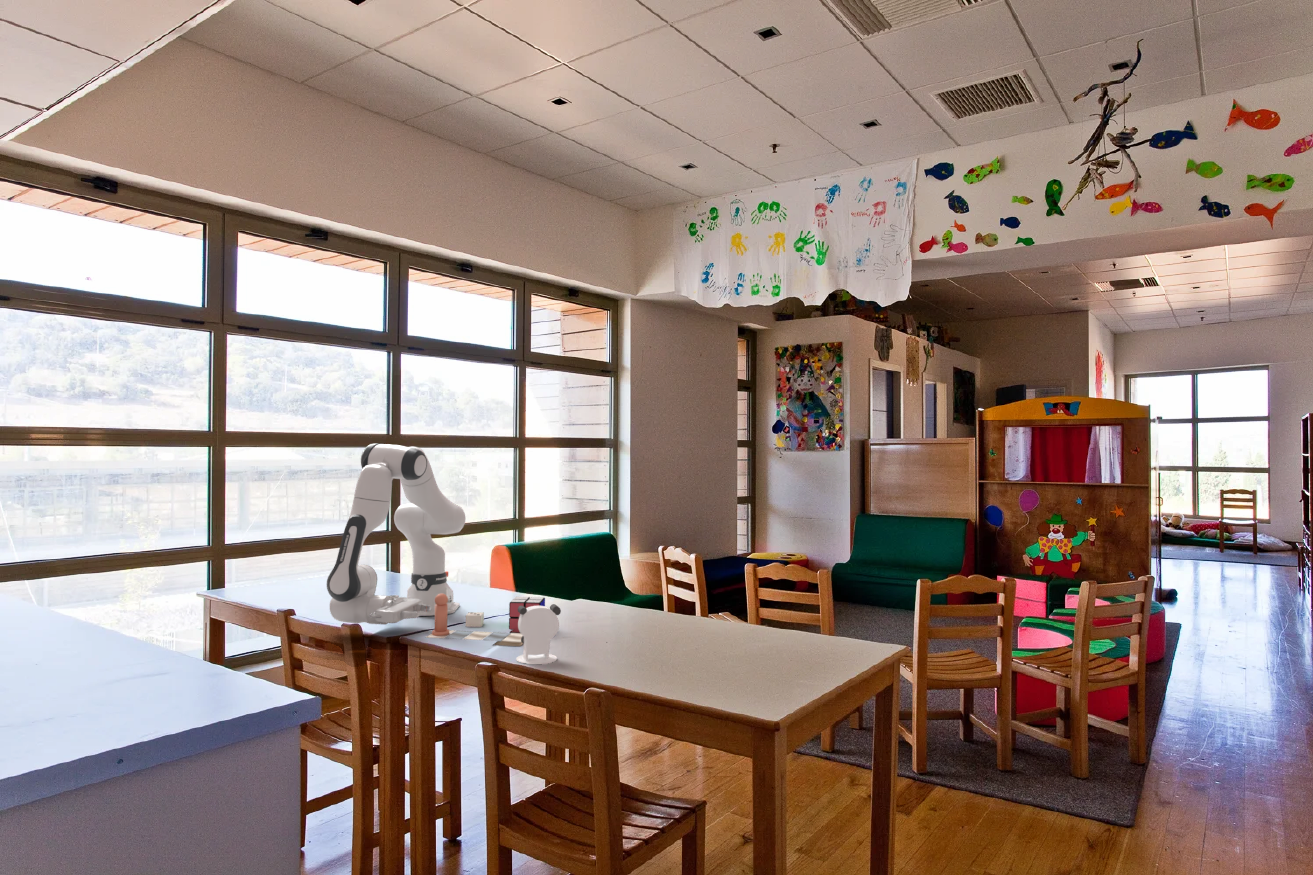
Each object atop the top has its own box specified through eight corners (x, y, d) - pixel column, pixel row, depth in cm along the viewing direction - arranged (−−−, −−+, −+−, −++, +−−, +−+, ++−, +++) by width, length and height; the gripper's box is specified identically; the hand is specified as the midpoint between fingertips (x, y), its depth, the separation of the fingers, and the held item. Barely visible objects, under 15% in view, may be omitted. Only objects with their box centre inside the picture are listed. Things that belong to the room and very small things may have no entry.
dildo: (435, 631, 252) (436, 591, 253) (451, 632, 252) (452, 592, 252) (429, 635, 247) (430, 594, 247) (445, 636, 247) (446, 595, 247)
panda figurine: (553, 652, 234) (554, 601, 234) (563, 662, 223) (564, 608, 224) (512, 655, 230) (513, 603, 230) (520, 666, 219) (521, 611, 219)
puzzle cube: (539, 633, 258) (540, 602, 258) (508, 633, 258) (509, 601, 258) (544, 626, 268) (545, 596, 268) (514, 626, 268) (515, 596, 268)
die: (468, 627, 265) (468, 612, 265) (483, 627, 265) (483, 612, 265) (465, 630, 260) (465, 615, 260) (481, 630, 260) (481, 615, 260)
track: (438, 633, 255) (438, 629, 255) (530, 637, 252) (530, 633, 252) (424, 641, 244) (424, 637, 244) (520, 646, 241) (520, 641, 241)
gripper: (366, 606, 242) (410, 608, 240) (396, 593, 262) (437, 595, 260) (365, 627, 242) (409, 629, 240) (395, 613, 262) (436, 615, 260)
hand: (424, 611), depth 250 cm, fingers open, 8 cm apart
